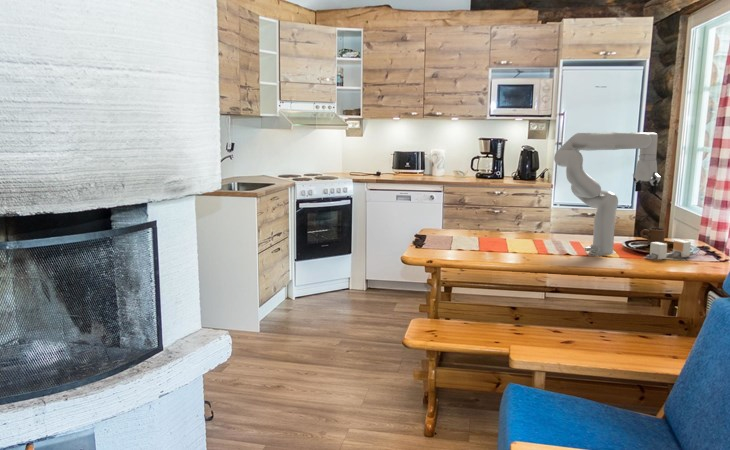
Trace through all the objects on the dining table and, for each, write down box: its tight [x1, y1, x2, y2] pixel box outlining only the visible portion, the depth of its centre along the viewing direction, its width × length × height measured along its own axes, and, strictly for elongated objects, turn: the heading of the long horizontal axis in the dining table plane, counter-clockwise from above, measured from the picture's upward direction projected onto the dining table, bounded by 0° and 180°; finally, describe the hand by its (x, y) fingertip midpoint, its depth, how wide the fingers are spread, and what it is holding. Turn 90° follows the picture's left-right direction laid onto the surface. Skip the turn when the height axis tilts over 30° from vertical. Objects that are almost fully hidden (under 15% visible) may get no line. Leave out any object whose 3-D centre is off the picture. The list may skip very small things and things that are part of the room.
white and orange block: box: [672, 239, 692, 258], centre depth 275 cm, size 5×6×7 cm
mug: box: [640, 227, 666, 246], centre depth 302 cm, size 12×8×9 cm, turn 83°
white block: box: [649, 242, 668, 260], centre depth 271 cm, size 5×6×7 cm
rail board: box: [642, 250, 696, 261], centre depth 274 cm, size 26×7×3 cm, turn 107°
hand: (645, 192), depth 286 cm, fingers open, 9 cm apart
